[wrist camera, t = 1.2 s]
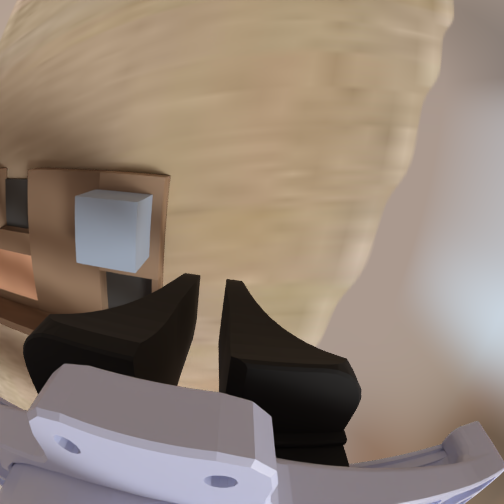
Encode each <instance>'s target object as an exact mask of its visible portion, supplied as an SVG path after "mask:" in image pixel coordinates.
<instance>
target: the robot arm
mask: <svg viewBox="0 0 504 504" xmlns="http://www.w3.org/2000/svg"><path fill="white" fill-rule="evenodd" d="M199 285H200V275H194V274H187V273H185V274H183V275H181V276H180V277H178V278H177V279H175V280H173V281H172V282H170V283H169V284H167V285H165V286H164V287H162V288H160V289H158V290H156V291H155V292H153V293H151V294H149V295H147V296H145V297H143V298H140V299H138V300H135V301H133V302H130V303H127V304H124V305H120V306H117V307H113V308H109V309H105V310H99V311H94V312H86V313H75V314H49V315H48V316H47V317H46V318H45V319H44V320H43V321H42V322H41V323H40V325H39V326H38V327H37V328H36V329H35V330H34V331H33V332H32V333H31V334H30V335H29V336H28V337H27V339H26V341H25V343H24V345H23V355H24V359H25V363H26V366H27V369H28V371H29V374H30V377H31V379H32V381H33V384H34V386H35V389H36V391H37V393H38V396H37V397H36V399H35V400H34V402H33V403H32V405H31V407H30V408H29V410H28V411H26V410H23V409H21V408H19V407H17V406H15V405H13V404H12V403H10V402H8V401H6V400H4V399H3V398H1V397H0V485H1V486H2V488H1V491H0V504H465V503H466V502H467V501H469V500H470V499H471V498H472V497H474V496H475V495H476V494H478V493H479V492H480V491H481V490H482V489H484V488H485V487H486V486H487V485H489V484H490V483H491V482H492V481H493V480H494V479H496V478H497V477H498V476H499V475H500V474H501V473H502V472H503V471H504V461H503V459H502V458H501V456H500V454H499V453H498V451H497V449H496V448H495V446H494V445H493V443H492V441H491V440H490V438H489V437H488V435H487V434H486V432H485V431H484V429H483V428H482V426H481V424H480V423H479V422H478V421H475V422H472V423H469V424H466V425H463V426H460V427H458V428H456V429H455V430H453V431H452V432H451V433H450V434H449V435H448V436H447V437H446V438H445V440H444V441H443V442H442V444H440V445H437V446H433V447H430V448H426V449H423V450H419V451H416V452H411V453H407V454H403V455H399V456H394V457H389V458H384V459H379V460H374V461H367V462H361V463H354V464H349V463H348V460H347V456H346V453H345V450H344V447H343V445H344V444H345V443H346V441H347V438H346V435H345V431H344V429H345V427H346V426H347V424H348V422H349V421H350V419H351V417H352V416H353V414H354V412H355V411H356V409H357V407H358V405H359V402H360V400H361V388H360V385H359V383H358V381H357V378H356V376H355V373H354V371H353V369H352V367H351V365H350V364H349V362H348V360H347V359H346V358H343V357H340V356H337V355H334V354H331V353H328V352H326V351H323V350H321V349H318V348H316V347H314V346H312V345H310V344H308V343H306V342H304V341H302V340H300V339H299V338H297V337H296V336H294V335H292V334H291V333H289V332H288V331H286V330H285V329H284V328H282V327H281V326H280V325H278V324H277V323H276V322H275V321H274V320H272V319H271V318H270V317H269V316H268V315H267V314H266V313H265V312H264V311H263V309H262V308H261V307H260V306H259V305H258V304H257V302H256V301H255V300H254V298H253V297H252V296H251V294H250V293H249V291H248V289H247V288H246V286H245V284H244V283H243V282H242V281H237V280H230V279H227V280H226V287H225V295H224V303H223V311H222V319H221V327H220V335H219V392H213V391H206V390H199V389H192V388H186V387H180V386H177V385H178V381H179V378H180V375H181V372H182V369H183V366H184V363H185V360H186V357H187V354H188V351H189V348H190V346H191V343H192V340H193V335H194V330H195V325H196V320H197V309H198V296H199Z"/></svg>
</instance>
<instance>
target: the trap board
mask: <svg viewBox="0 0 504 504" xmlns="http://www.w3.org/2000/svg"><path fill="white" fill-rule="evenodd" d="M169 184H170V176H168V175H158V174H147V173H135V172H122V171H107V170H89V169H64V168H35V169H29V170H28V179H7V168H0V323H1V324H3V325H5V326H8V327H10V328H12V329H15V330H17V331H20V332H22V333H25V334H28V335H30V334H31V333H32V332H33V331H34V330H35V329H36V328H37V327H38V326H39V325H40V323H41V322H42V321H43V320H44V319H45V318H46V317H47V316H48V315H49V314H75V313H86V312H94V311H99V310H105V309H109V308H113V307H117V306H120V305H124V304H127V303H130V302H133V301H135V300H138V299H140V298H143V297H145V296H147V295H149V294H151V293H153V292H155V291H156V290H158V289H160V288H162V287H163V264H164V245H165V229H166V216H167V205H168V194H169ZM96 189H98V190H110V191H121V192H131V193H141V194H151V195H153V198H152V211H151V226H150V247H149V258H148V259H147V260H146V261H145V262H144V264H143V265H142V266H141V267H140V268H139V270H138V271H137V272H136V273H131V272H125V271H119V270H114V269H108V268H103V267H97V266H92V265H86V264H81V263H77V261H76V243H75V196H77V195H80V194H83V193H86V192H89V191H92V190H96Z"/></svg>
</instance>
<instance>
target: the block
mask: <svg viewBox="0 0 504 504" xmlns="http://www.w3.org/2000/svg"><path fill="white" fill-rule="evenodd" d="M152 198H153V195H151V194H141V193H131V192H121V191H110V190H98V189H96V190H92V191H89V192H86V193H83V194H80V195H77V196H75V243H76V261H77V263H81V264H86V265H92V266H97V267H103V268H108V269H114V270H119V271H125V272H131V273H136V272H137V271H138V270H139V268H140V267H141V266H142V265H143V264H144V262H145V261H146V260H147V259H148V258H149V247H150V226H151V211H152Z"/></svg>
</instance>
